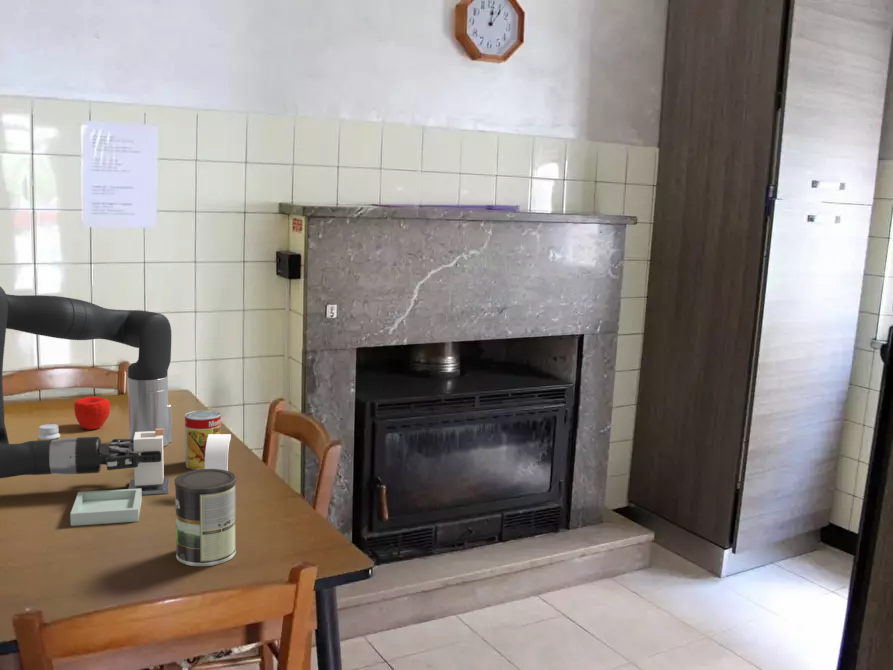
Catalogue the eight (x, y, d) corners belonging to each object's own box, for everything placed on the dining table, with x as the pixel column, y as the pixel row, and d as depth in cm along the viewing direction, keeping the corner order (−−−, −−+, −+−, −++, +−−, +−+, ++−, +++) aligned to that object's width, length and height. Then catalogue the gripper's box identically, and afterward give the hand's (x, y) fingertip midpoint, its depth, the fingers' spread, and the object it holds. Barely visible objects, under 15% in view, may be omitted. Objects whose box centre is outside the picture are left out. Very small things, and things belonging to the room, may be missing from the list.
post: (130, 483, 187) (129, 445, 185) (169, 480, 189) (168, 443, 187) (127, 495, 179) (126, 456, 178) (168, 493, 181) (167, 454, 180)
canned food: (220, 469, 198) (220, 418, 196) (185, 470, 196) (184, 419, 194) (221, 458, 205) (220, 409, 203) (186, 460, 203) (185, 410, 201)
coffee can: (169, 567, 147) (168, 488, 144) (182, 542, 157) (181, 468, 155) (231, 567, 148) (230, 488, 145) (240, 542, 158) (240, 468, 156)
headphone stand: (231, 488, 186) (231, 434, 184) (227, 498, 180) (226, 442, 178) (209, 488, 185) (208, 434, 183) (204, 498, 179) (204, 442, 177)
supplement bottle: (52, 465, 196) (51, 429, 195) (34, 463, 197) (32, 427, 196) (65, 459, 201) (64, 424, 200) (47, 457, 202) (46, 422, 200)
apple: (118, 427, 228) (117, 398, 227) (88, 434, 221) (87, 404, 220) (96, 421, 233) (96, 393, 232) (67, 428, 226) (66, 399, 224)
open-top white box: (136, 476, 186) (135, 426, 184) (164, 475, 187) (163, 425, 185) (134, 485, 180) (133, 434, 178) (163, 484, 182) (162, 432, 180)
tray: (78, 503, 174) (78, 492, 174) (141, 499, 177) (141, 488, 177) (70, 525, 163) (70, 513, 162) (138, 521, 166) (138, 509, 166)
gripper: (70, 448, 171) (160, 444, 176) (79, 428, 185) (162, 425, 190) (71, 484, 173) (160, 479, 177) (80, 462, 186) (163, 458, 191)
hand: (161, 451), depth 183 cm, fingers closed on open-top white box, 5 cm apart
